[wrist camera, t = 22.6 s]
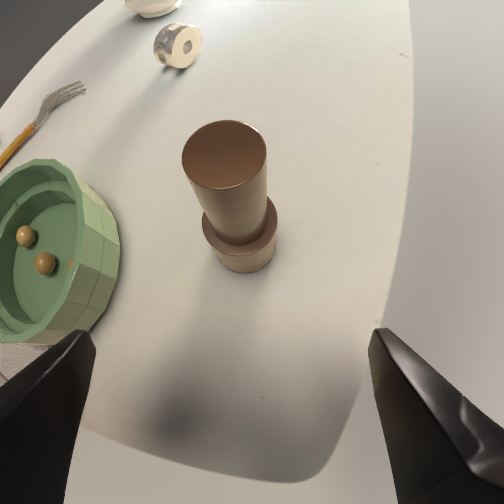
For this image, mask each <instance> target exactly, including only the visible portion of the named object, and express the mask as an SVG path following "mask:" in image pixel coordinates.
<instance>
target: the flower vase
mask: <svg viewBox="0 0 504 504" xmlns="http://www.w3.org/2000/svg"><path fill="white" fill-rule="evenodd" d="M125 5H126V7H127V8H128V9H129V10H131V11H133V12H137V13H140V15H141V16H142V17H145V18H155V17H159V16H163V15H166V14H168V13H170V12H172V11H174V10H175V9H177V8H178V7H179V5H180V0H125Z"/></svg>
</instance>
